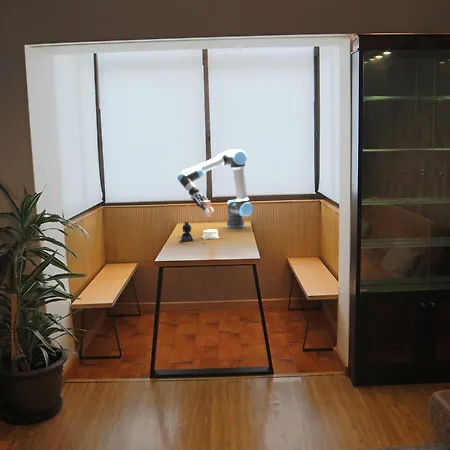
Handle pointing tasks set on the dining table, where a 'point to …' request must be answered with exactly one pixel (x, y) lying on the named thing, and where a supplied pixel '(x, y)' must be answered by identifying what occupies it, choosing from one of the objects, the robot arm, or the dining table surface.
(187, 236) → the figurine
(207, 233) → the base brick
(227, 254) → the dining table surface
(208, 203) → the tall brick
